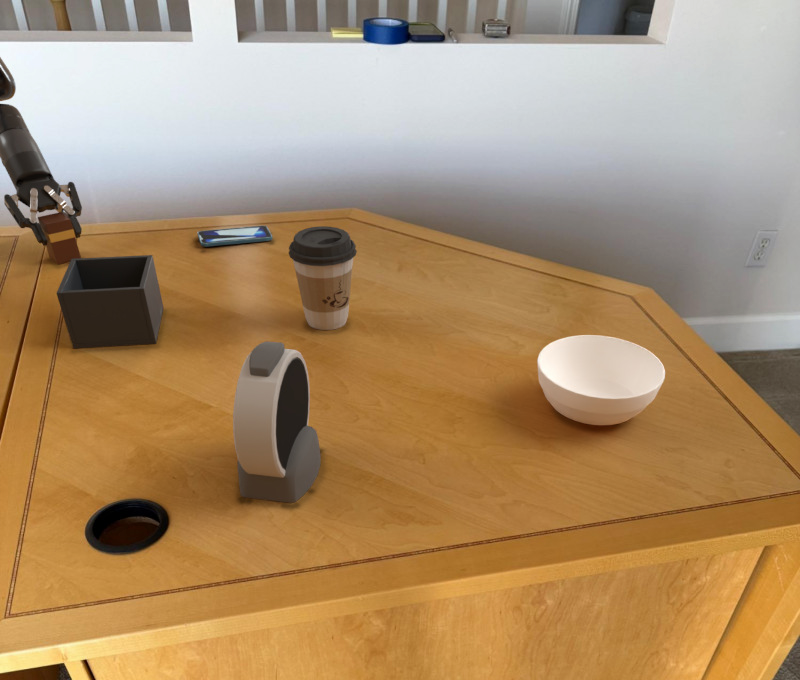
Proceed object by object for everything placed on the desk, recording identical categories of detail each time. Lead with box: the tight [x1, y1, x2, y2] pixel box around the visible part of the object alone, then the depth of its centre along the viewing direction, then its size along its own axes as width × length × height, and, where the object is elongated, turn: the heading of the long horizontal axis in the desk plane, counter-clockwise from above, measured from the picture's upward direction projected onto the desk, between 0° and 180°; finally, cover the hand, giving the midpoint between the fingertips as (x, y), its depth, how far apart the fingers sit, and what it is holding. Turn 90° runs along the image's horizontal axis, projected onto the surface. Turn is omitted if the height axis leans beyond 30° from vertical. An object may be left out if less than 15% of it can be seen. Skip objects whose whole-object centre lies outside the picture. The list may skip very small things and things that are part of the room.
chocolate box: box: [37, 212, 82, 265], centre depth 154 cm, size 5×5×8 cm
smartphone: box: [197, 225, 273, 247], centre depth 164 cm, size 7×1×15 cm
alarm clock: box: [232, 340, 322, 504], centre depth 98 cm, size 16×10×18 cm, turn 170°
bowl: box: [536, 334, 666, 426], centre depth 114 cm, size 18×18×7 cm
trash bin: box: [55, 254, 164, 350], centre depth 132 cm, size 14×14×10 cm
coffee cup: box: [288, 225, 358, 331], centre depth 132 cm, size 11×11×15 cm
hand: (62, 239), depth 153 cm, fingers open, 6 cm apart
